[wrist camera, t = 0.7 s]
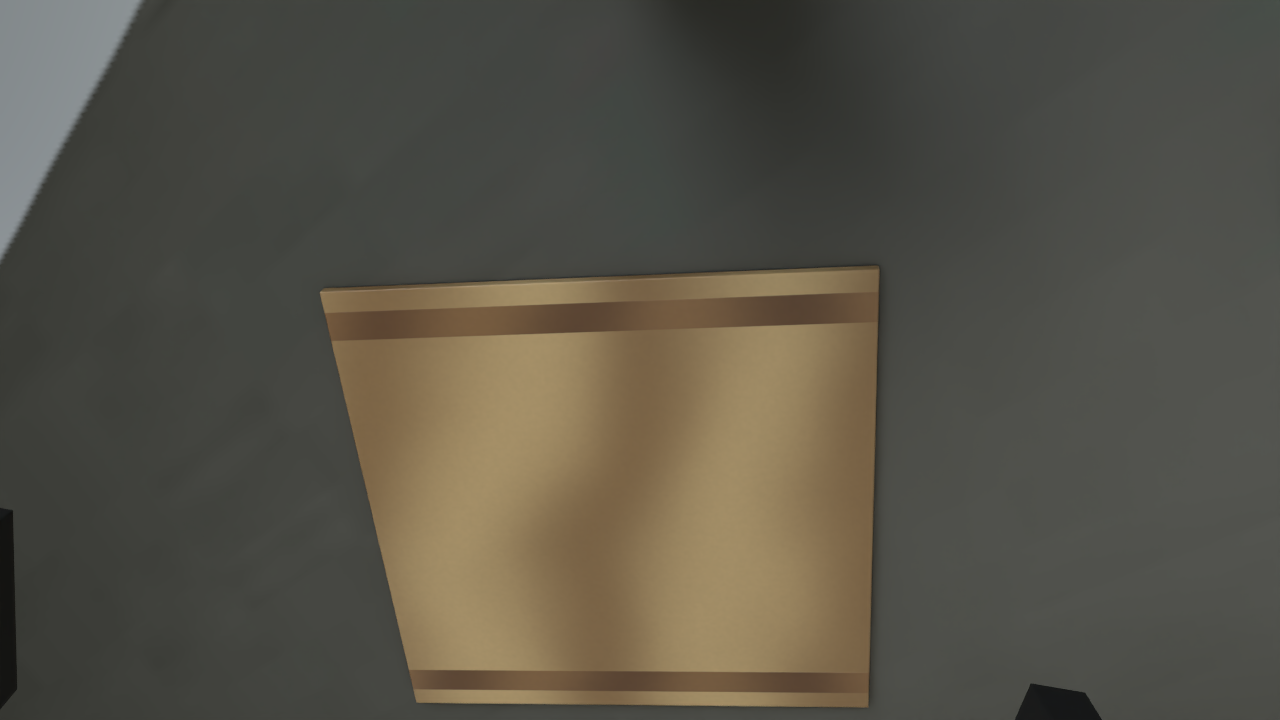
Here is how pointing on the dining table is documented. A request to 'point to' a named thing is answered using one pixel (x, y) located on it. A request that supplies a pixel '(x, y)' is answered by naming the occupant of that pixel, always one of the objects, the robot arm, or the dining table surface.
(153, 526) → the dining table surface
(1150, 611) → the dining table surface
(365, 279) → the dining table surface
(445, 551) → the placemat
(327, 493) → the dining table surface
